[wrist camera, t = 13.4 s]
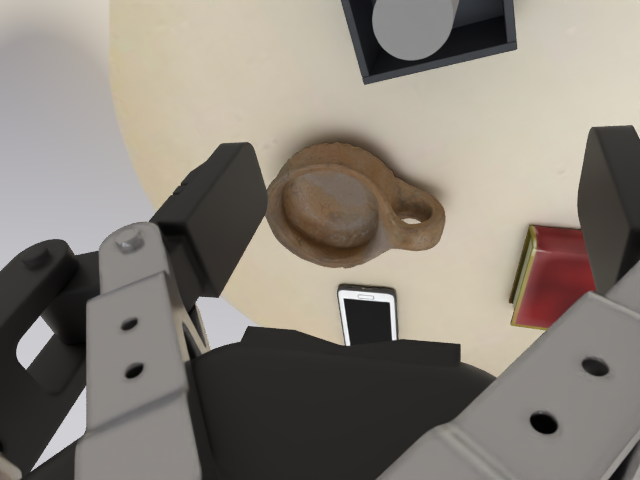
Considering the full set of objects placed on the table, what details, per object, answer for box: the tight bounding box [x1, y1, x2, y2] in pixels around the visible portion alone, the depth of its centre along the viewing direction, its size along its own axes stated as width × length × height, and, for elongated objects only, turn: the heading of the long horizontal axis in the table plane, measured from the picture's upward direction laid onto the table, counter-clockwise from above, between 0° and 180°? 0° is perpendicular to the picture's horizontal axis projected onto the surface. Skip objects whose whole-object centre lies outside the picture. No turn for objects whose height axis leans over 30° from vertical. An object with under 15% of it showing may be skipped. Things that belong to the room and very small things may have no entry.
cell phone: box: [337, 285, 398, 346], centre depth 66 cm, size 8×15×1 cm, turn 8°
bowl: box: [265, 142, 445, 268], centre depth 49 cm, size 18×14×10 cm
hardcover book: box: [509, 225, 596, 330], centre depth 50 cm, size 12×21×4 cm, turn 94°
